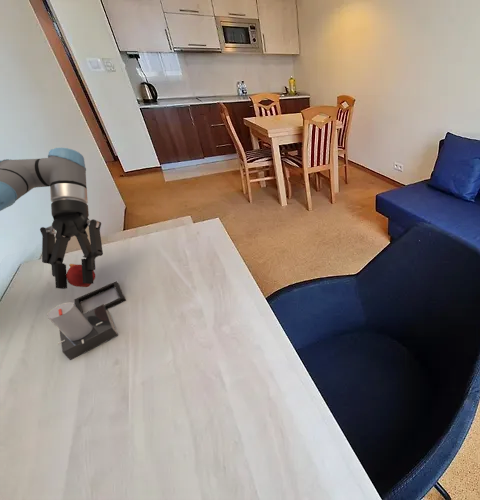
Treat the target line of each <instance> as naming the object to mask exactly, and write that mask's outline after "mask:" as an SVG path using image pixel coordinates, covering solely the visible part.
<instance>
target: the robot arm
mask: <svg viewBox="0 0 480 500" xmlns="http://www.w3.org/2000/svg"><path fill="white" fill-rule="evenodd" d="M46 187H48V188H49V187H50V188H49V190H50V202H51V204H50V211H51V216H52V223H51V225H49V226H48V227H44V226H42V227H40V229H39V231H40V233H41V237H42V241H41V246H42V247H41V261H42V262H41V263H43V264H48V265H51V276H52V277H54V279H55V280H54V281H55V282H54V283H55V289H60V290H66V289H68V280H67V277H66V274H67V264H65V263H64V259H65V255H66V252H67V248H68V244H69V242H70V241H71V238H73V237H75V238H76V240H77V242H78V245H79V247H80V249H81V252H82V254H83V255H82V258H81V259H80V261H81V265H82V277H83V283H86V284H91V285H92V284H94V281H93V271H94V272H95V271H96V258H98V257H102V256H103V254H104V251H103V244H102V237H101V236H102V235H101V227H102V222H101V221H100V220H96V219H93V218H92V219H90V218H89V216H90V214H89V205H88V203H89V202H88V201H89V200H88V187H87V168H86V163H85V157H84V155H83V154H81V153H80V152H79V151H77V150H75V149H72V148H68V147H55V148H52V149H50V150H49V151H48V154H47V157H41V158H23V159H9V158H8V159H7V158H6V159H2V160H0V212H1V211H4V210H5V209H7V208H9V207H11V206H13V205H14V204H15V203H16V202H17V201H18V200H19V199H20V198H21V197H23V196H25V195H26V194H27V193H29V192H30V191H31V190H33V189H35V188H46ZM87 228H88V232H87ZM88 234H89V235H88ZM88 237H89V238H88Z"/></svg>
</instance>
